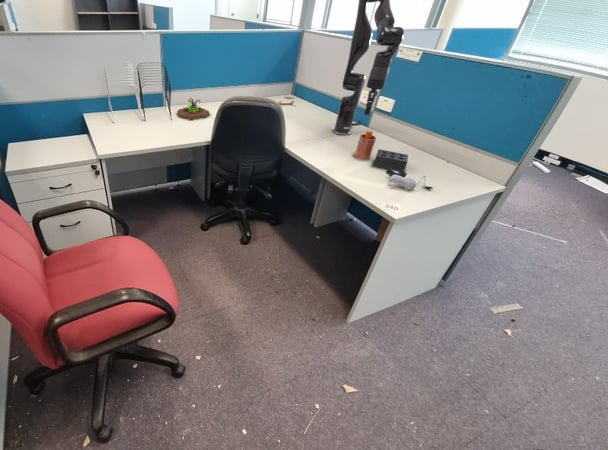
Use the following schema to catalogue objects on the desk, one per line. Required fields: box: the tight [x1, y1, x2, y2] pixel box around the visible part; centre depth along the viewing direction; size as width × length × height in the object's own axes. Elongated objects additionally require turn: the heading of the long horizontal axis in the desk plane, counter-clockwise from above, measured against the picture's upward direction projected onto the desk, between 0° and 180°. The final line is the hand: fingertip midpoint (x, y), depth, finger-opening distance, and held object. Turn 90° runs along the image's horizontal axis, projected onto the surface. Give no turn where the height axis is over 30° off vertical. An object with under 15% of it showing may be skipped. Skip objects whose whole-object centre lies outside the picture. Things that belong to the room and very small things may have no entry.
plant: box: [176, 97, 210, 121], centre depth 219 cm, size 20×20×11 cm
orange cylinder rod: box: [364, 130, 374, 139], centre depth 167 cm, size 3×3×12 cm
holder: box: [372, 148, 409, 172], centre depth 160 cm, size 10×13×6 cm
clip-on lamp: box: [385, 169, 434, 191], centre depth 145 cm, size 12×6×18 cm
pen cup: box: [354, 133, 377, 161], centre depth 167 cm, size 7×7×11 cm
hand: (367, 112), depth 162 cm, fingers open, 8 cm apart
